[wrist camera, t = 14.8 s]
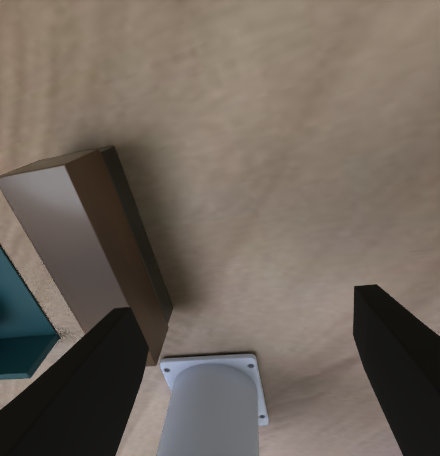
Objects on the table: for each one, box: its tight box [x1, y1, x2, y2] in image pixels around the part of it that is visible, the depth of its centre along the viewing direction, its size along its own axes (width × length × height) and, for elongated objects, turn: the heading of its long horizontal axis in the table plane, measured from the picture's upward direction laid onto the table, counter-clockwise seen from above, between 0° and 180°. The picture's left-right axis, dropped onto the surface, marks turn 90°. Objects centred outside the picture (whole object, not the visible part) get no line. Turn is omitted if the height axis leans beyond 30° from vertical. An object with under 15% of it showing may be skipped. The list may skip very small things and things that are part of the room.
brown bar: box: [0, 146, 173, 366], centre depth 16 cm, size 12×3×5 cm, turn 11°
